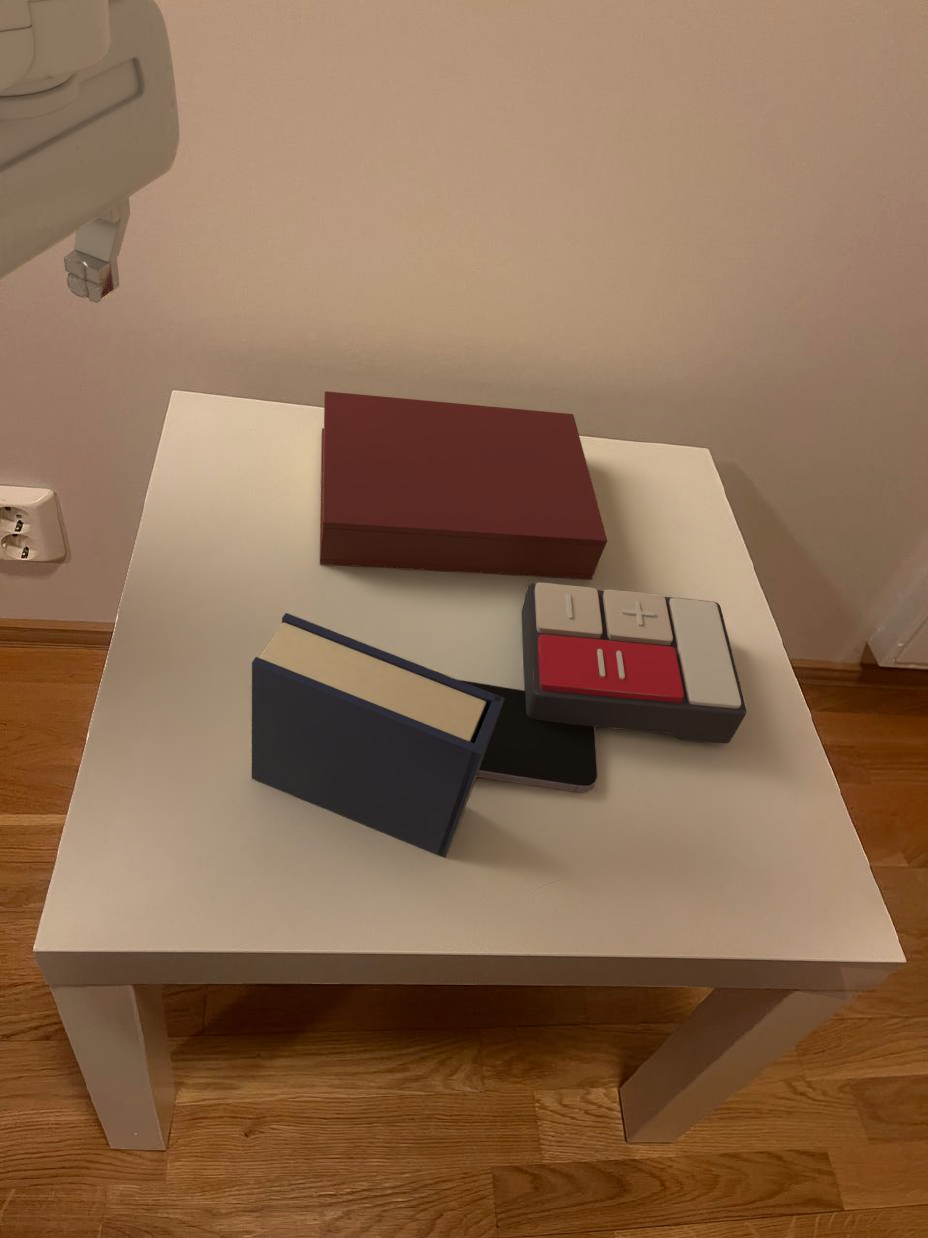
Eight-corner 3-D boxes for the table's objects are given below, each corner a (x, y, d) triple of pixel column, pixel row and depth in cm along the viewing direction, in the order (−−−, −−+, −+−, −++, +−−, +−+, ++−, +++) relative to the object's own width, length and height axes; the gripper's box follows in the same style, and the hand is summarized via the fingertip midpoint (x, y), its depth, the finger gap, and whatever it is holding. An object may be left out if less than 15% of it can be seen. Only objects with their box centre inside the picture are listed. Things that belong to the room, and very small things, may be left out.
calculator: (529, 574, 68) (723, 594, 69) (519, 613, 71) (705, 632, 72) (534, 687, 60) (753, 708, 62) (523, 726, 63) (731, 745, 65)
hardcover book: (445, 858, 56) (482, 754, 47) (251, 778, 57) (251, 662, 48) (466, 806, 59) (505, 697, 50) (280, 730, 60) (285, 612, 51)
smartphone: (599, 790, 60) (375, 756, 58) (593, 798, 61) (372, 765, 59) (593, 701, 65) (386, 666, 63) (588, 709, 66) (384, 676, 64)
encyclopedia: (319, 564, 70) (323, 522, 67) (321, 433, 80) (324, 390, 77) (591, 579, 74) (607, 540, 71) (560, 453, 84) (573, 413, 81)
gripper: (70, -108, 37) (104, 223, 47) (-422, 11, 23) (-221, 440, 33) (212, -59, 36) (215, 264, 46) (-204, 93, 23) (-69, 501, 33)
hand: (31, 339), depth 40 cm, fingers open, 8 cm apart
